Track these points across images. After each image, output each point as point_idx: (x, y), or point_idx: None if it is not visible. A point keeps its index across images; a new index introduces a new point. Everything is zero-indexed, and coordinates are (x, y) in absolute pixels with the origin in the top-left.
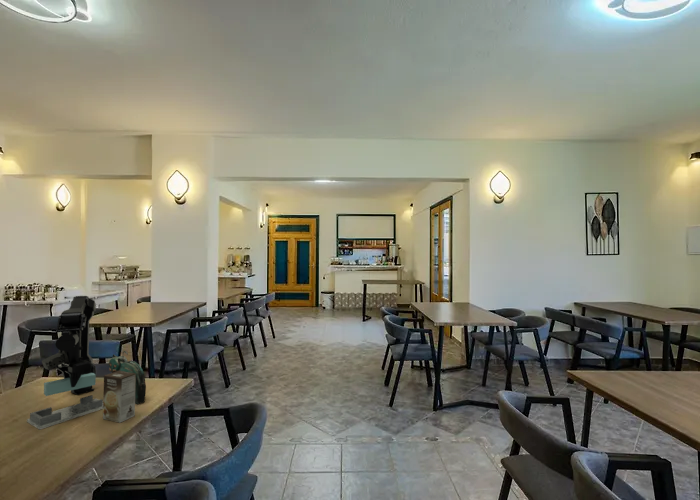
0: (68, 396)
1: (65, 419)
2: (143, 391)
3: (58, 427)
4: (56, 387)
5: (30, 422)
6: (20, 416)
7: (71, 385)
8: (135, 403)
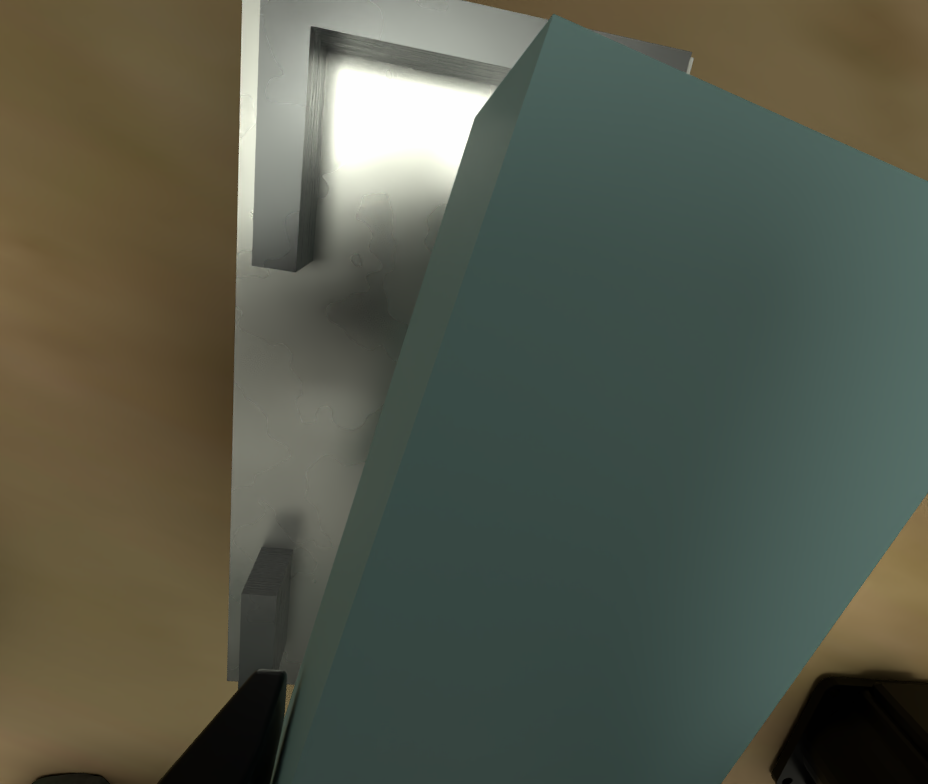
0: (881, 630)
1: (242, 281)
2: None
3: (109, 127)
4: (391, 421)
5: None
6: (921, 142)
7: (234, 707)
8: (67, 778)
